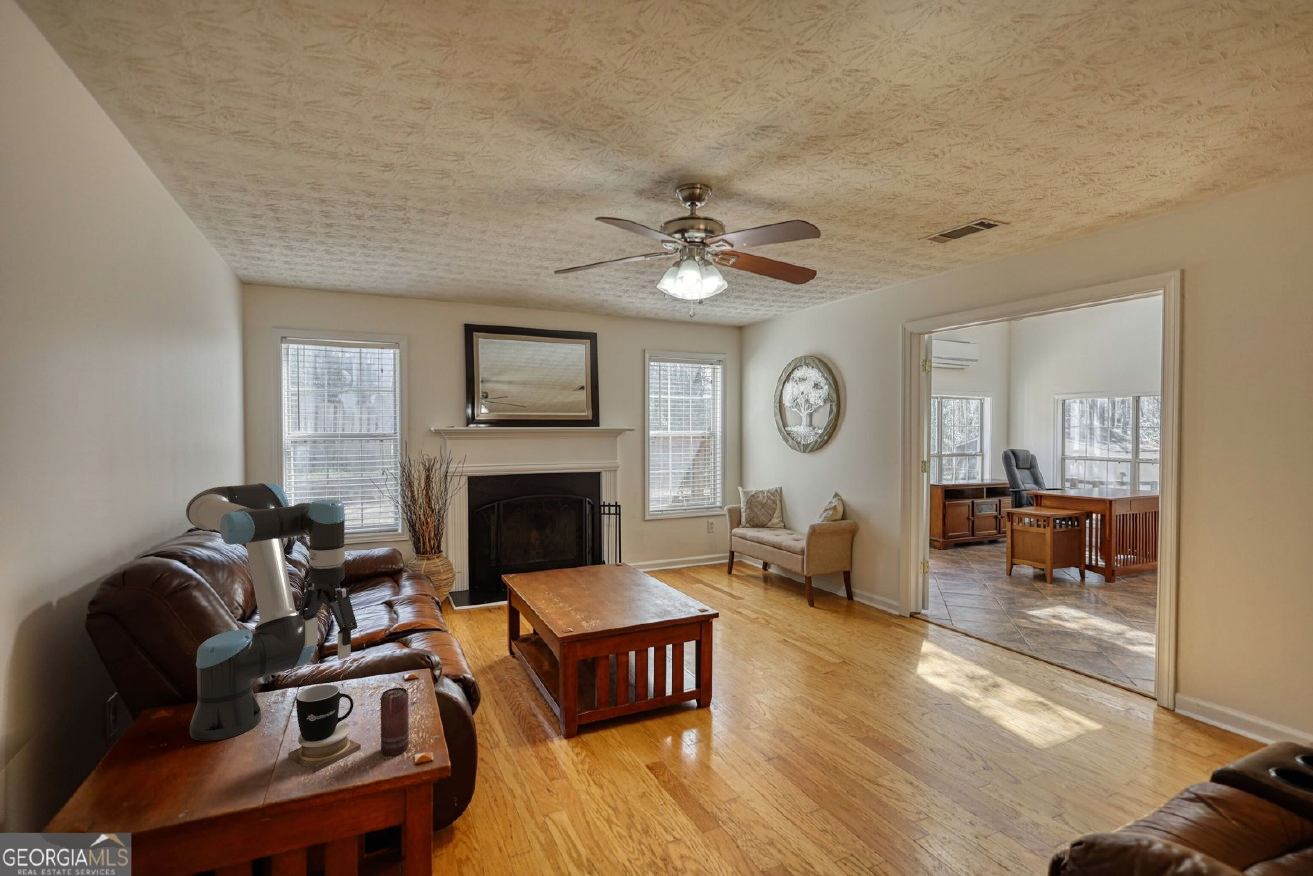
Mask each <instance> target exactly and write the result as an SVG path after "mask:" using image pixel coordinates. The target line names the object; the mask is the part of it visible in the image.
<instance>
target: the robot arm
mask: <svg viewBox="0 0 1313 876" xmlns="http://www.w3.org/2000/svg"><path fill="white" fill-rule="evenodd" d="M187 503H188V504H187V505H186V509H185V516H186V519H187V520H188V522H189V523H190V524H191V525H192V526H194V527H195V528H198V529H201V530H205V531H213V530H215V531H217V532H220V536H221V539H222V541H223V542H224V543H225V544H226V545H230V546H232V545H245V547H246V548H245V549H246V552H247V558H248V563H249V569H250V575H251V580H252V585H253V592H254V595H255V600H256V606H257V611H258V617H259V620H258V622H257V623H256V624H255V626H254V631H255V632H254V633H252V631H251V630H250V629H246V628H245V629H244V628H242V629H241V628H240V629H237V630H235V629H232V630H229V631H225V632H220V633H219V634H216V635H214V636H212V637H210V638H207V639H206V640H205V641H204V642H202V643H201V644H200V645H199V646H198V648H197V652H196V653H197V654H196V662H195V667H196V677H197V678H196V679H197V680H196V681H197V682H196V683H197V687H196V688H197V704H196V707H195V709H194V712H193V715H192V719H191V721H190V724H189V737H190V738H191V739H193V740H195V741H199V742H211V741H220V740H225V739H229V738H232V737H236V736H238V735H241V734H243V733H246V732H248V731H250V730H252V729H253V728H255V727H256V726H258V725H259V724H260V723H261V720H262V709H261V707H260V705H259V702H258V700H257V697H256V696H255V693H254V690H253V688H254V687H253V684H254V683H253V682H254V680H256V679H259V678H260V679H261V678H263V677H264V678H265V677H267V676H271V675H274V674H278V673H281V672H285V671H288V670H294V669H296V668H299V667H302V666H304V665H307V664H308V663H310V661H311V660H312V658H313V656H314V654H315V650H316V646H317V645H318V644H319V641H318V640H319V639H318V637H319V635H318V634H319V631H318V630H319V623H318V622H319V620H318V619H319V618H318V612H319V611H320V610H321V608H322V606H323V604H324V605H326V606H327V608H328V609H330V611H331V613H332V615H333V618H334V620H335V621H336V625H337V627H338V629H339V630H338V631H337V660H339V661H340V660H344V659H347V658H349V657H351V653H352V652H351V651H352V650H351V643H352V631H353V630H356V629H358V623H357V619H356V616H355V611H354V609H353V605H352V601H351V598H350V589H349V587H344V588H341V584H340V583H341V582H342V581H343V580H345V578H346V577H345V571H346V570H345V567H346V566H345V564H344V562H346V560H345V559H346V558H345V557H346V553H345V551H346V550H345V525H346V524H345V521H346V520H345V519H346V513H345V505H344V504H345V503H344V502H343V501H342V500H338V499H320V500H315V501H312V502H298V503H296V504H294V505H292V506H291V505H289V504H290V503H289V499H288V497H287V494H286V492H285V491H284V489H283V488H282V486H280V485H278V484H276V483H262V482H259V483H253V484H241V485H226V486H223V485H222V486H215V487H211V488H207V489H205V490H203V491H200V492H199V493H197V494H196V495H195V496H193V497H192V498H191V499H190V501H188V502H187ZM301 536H308V540H309V541H308V542H309V545H308V547H309V554H308V558H309V565H310V567H309V569H308V570H309V573H308V575H309V576H308V577H309V581H307V580H306V583H305V592H304V594H303V598H302V601H301V605H300V607H299V608H300V609H299V611H297V610H296V606H295V602H294V595H293V591H292V587H291V582H290V576H289V572H288V568H287V561H286V557H285V551H284V547H283V542H282V539H287V538H295V537H301Z"/></svg>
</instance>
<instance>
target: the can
mask: <svg viewBox="0 0 1313 876" xmlns="http://www.w3.org/2000/svg"><path fill="white" fill-rule="evenodd" d="M409 725H410V724H409V692H408V691H407V689H406V688H405V687H393V688H389V689H386V690H384V691H383V692H382V694H381V697H380V751H381V752H382V754H383V755H384V756H389V757H391V756H398V755H401V754H402V753H404V752H406V751H407V750H408V748H409V745H410V743H409V742H410V741H409V740H410V739H409V737H410V735H409V733H410V731H409V728H410V727H409Z"/></svg>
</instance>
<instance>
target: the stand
mask: <svg viewBox="0 0 1313 876" xmlns="http://www.w3.org/2000/svg"><path fill="white" fill-rule="evenodd" d="M350 732H351V726H350V725H349V724H348V723H346V722H344V721H340V722H339V723H338V724H337V726H336V729H335V731H334V733H333V734H332V735H331V736H330V737H328V738H326V739H324V740H320V741H315V742H309V741H305V740H304V739H303V738H302V736H301V733H300V734H299V735H298V741H297V742H298V744H299V745H300V747H299V748H296V749H294V750H292V751H289V752H287V758H288V759H289V760H291V761H293V762H296V763H297V764H300V765H301V766H304V767H306V768H307V769H310V770H312V771H314V772H315V773H316V772H318V771H320V770H322V769H324V768H326V767H329V766H330V765H332V764H335V763H336V762H338V761H340V760H342V759H344V758H345V757H349V756H350V755H353V754H354V753H355V752H358V751H360V750H361V749H362V748H361V747H362V746H361V745H362V744H361V743H359V742H357V741H354V740H352V739H350V738H348V736H349V735H350Z"/></svg>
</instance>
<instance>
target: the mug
mask: <svg viewBox="0 0 1313 876" xmlns="http://www.w3.org/2000/svg"><path fill="white" fill-rule="evenodd" d="M342 698H345V699H347V700H348V701H349V704H350V706H349V708H348V710H347V712H346V713H345V714H344V715H342V716H341V717H339V710H340V700H341V699H342ZM295 703H296V704H295V706H296V716H297V722H298V729H299V733H300V734H301V736H302V738H303V739H304V740H305V741H309V742H315V741H320V740H324V739H326V738H328V737H330V736H331V735H332V734H333V733H334V731H335V729H336V726H337V724H338V723H339V722H343V721H344V720H345V719H347V718H348V717H349V716H350V714H351V713H352V711H353V709H354V701H353V698H352V696H351V695H349V694H346V693H344V692H343V693H341V692H340V688H339V686H337V685H334V684H320V685H313V686H310V687H307V688H305V689H303V690H301V691H300V692H298V693H297V694H296V698H295Z"/></svg>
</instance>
